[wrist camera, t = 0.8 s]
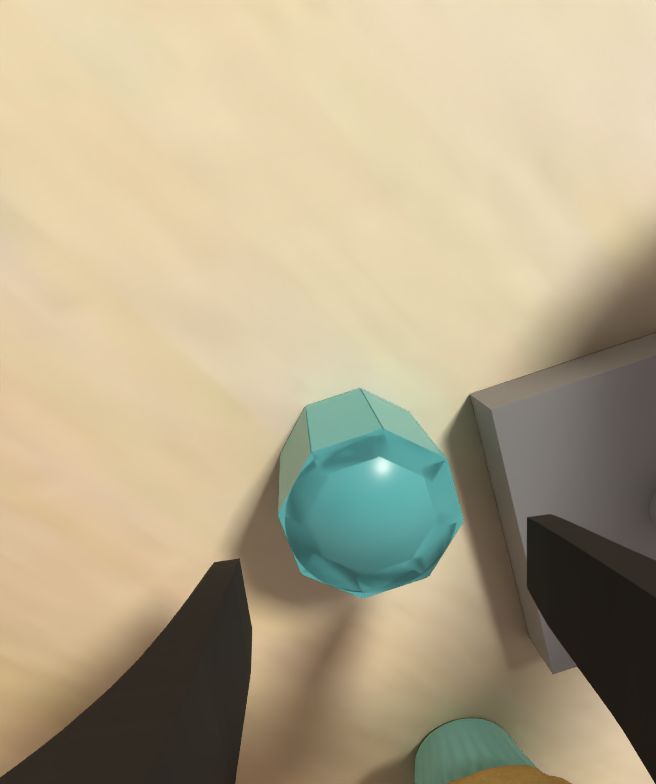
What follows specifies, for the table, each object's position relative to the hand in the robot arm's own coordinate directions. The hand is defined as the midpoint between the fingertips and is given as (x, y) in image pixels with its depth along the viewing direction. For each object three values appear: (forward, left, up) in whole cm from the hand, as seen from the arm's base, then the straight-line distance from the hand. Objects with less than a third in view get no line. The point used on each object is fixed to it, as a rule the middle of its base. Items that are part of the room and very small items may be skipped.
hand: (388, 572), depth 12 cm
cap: (0, 0, -7) cm, 7 cm away
